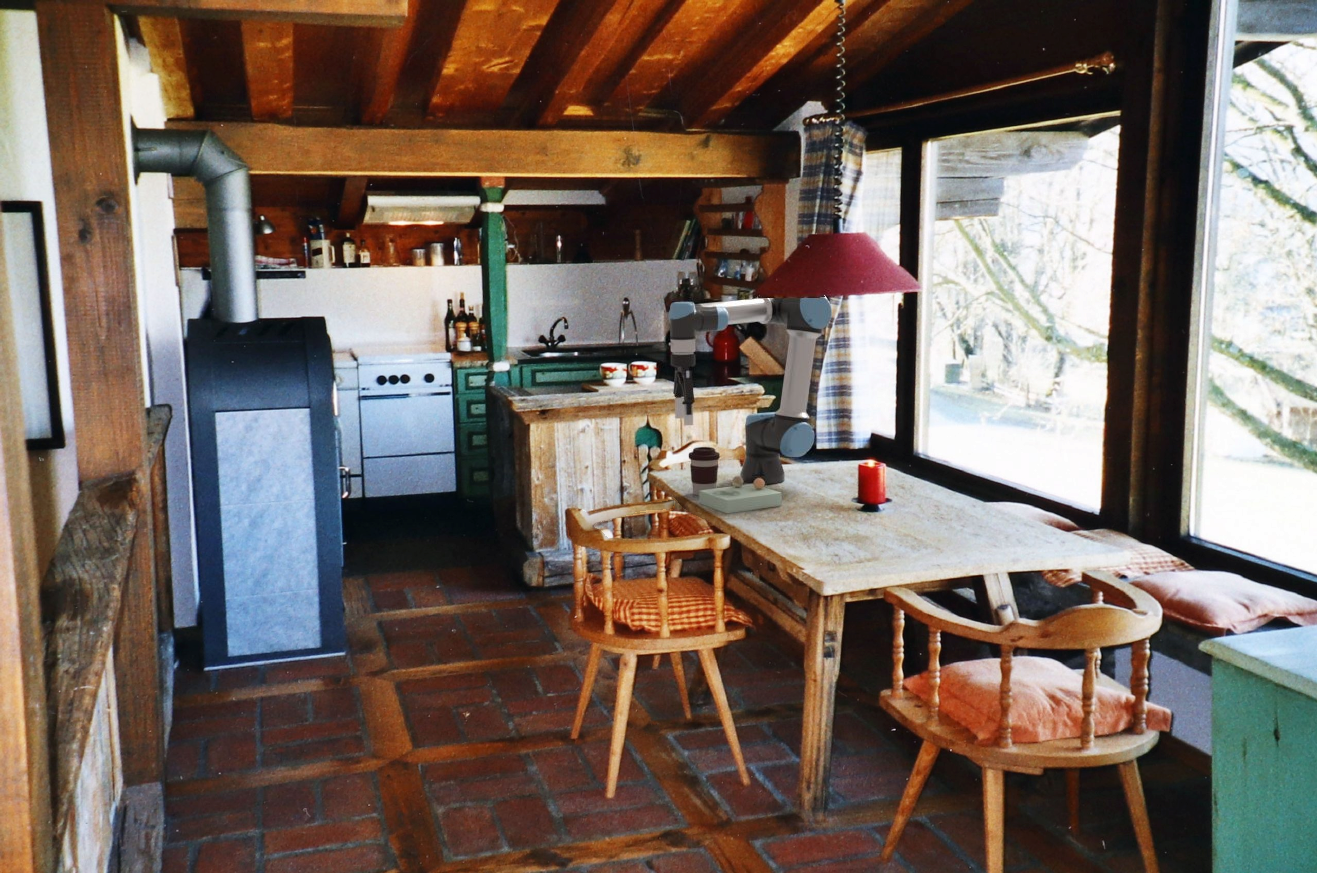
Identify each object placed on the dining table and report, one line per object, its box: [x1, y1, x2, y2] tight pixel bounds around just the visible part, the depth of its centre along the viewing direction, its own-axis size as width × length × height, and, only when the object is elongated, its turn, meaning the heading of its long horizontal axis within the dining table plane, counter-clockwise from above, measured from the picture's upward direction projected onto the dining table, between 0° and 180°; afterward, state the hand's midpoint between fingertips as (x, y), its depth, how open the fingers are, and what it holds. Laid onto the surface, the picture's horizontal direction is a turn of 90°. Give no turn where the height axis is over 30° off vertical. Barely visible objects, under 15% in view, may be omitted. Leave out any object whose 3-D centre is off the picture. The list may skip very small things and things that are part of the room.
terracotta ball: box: [753, 478, 766, 489], centre depth 357 cm, size 4×4×4 cm
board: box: [698, 483, 783, 514], centre depth 354 cm, size 20×16×4 cm
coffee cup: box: [688, 446, 720, 497], centre depth 368 cm, size 10×10×15 cm
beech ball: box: [731, 475, 744, 487], centre depth 360 cm, size 4×4×4 cm
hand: (684, 421), depth 353 cm, fingers open, 13 cm apart
